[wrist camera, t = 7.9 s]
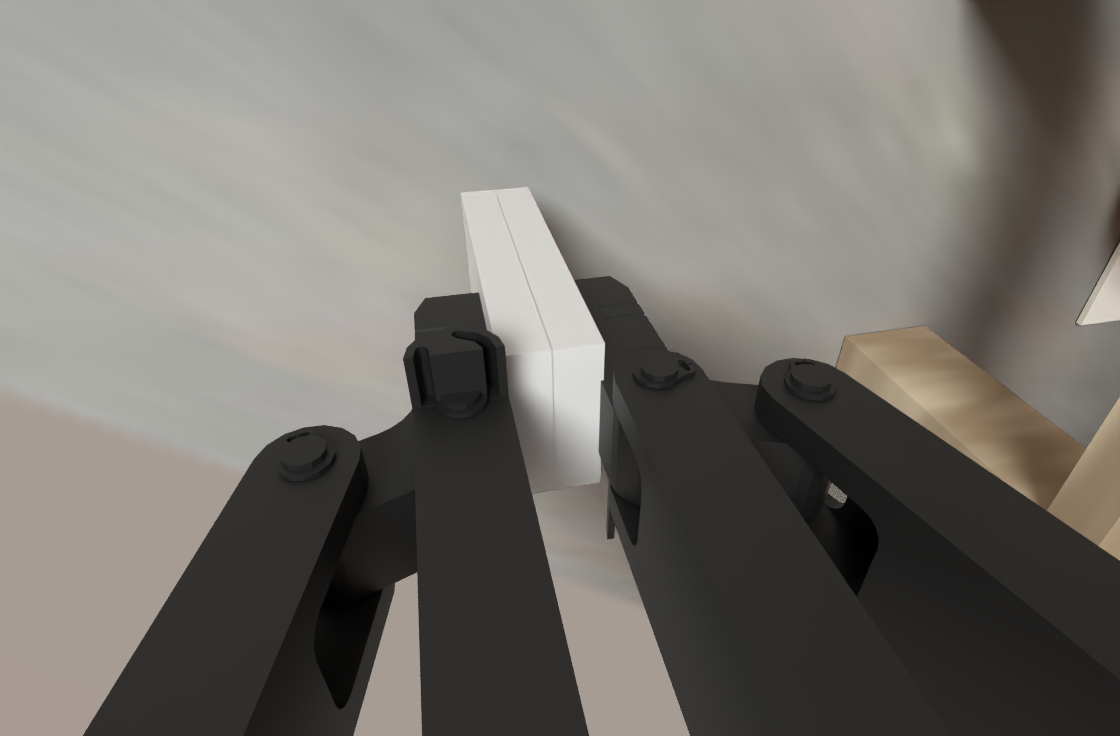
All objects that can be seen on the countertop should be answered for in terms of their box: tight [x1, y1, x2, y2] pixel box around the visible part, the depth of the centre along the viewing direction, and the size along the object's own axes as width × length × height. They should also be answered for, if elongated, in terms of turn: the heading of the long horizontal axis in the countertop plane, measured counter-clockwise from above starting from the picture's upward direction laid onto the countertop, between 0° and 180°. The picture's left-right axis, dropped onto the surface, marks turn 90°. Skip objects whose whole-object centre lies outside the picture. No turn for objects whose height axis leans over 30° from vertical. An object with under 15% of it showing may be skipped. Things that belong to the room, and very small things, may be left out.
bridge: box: [836, 326, 1120, 560], centre depth 14 cm, size 3×14×9 cm, turn 1°
